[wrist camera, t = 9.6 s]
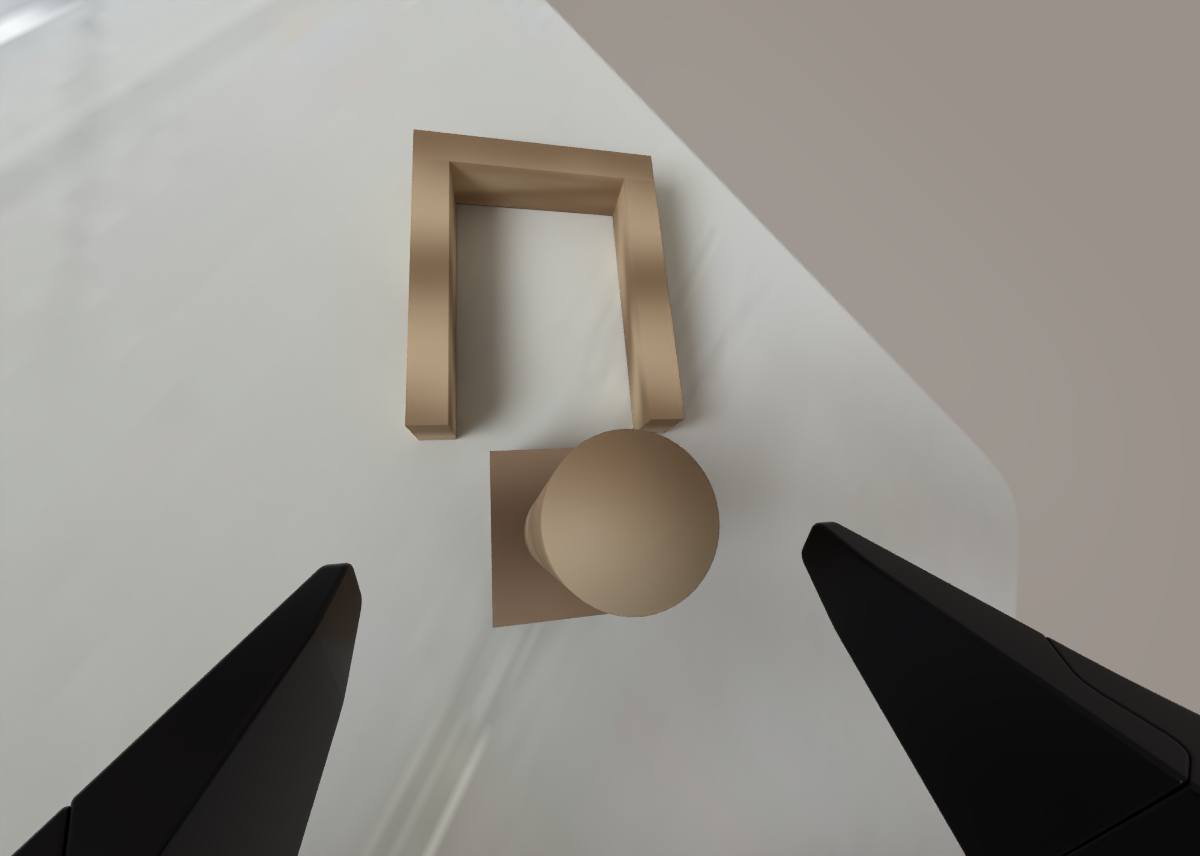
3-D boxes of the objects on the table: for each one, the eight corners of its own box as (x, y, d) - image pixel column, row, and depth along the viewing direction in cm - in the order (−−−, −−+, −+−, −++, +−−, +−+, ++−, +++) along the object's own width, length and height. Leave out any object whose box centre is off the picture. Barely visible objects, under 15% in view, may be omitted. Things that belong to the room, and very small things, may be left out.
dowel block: (616, 599, 18) (814, 712, 6) (495, 612, 17) (463, 779, 5) (605, 459, 20) (750, 339, 8) (493, 464, 19) (462, 333, 7)
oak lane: (664, 432, 20) (684, 418, 18) (418, 440, 18) (405, 425, 16) (636, 194, 24) (650, 156, 21) (424, 175, 21) (413, 129, 19)
